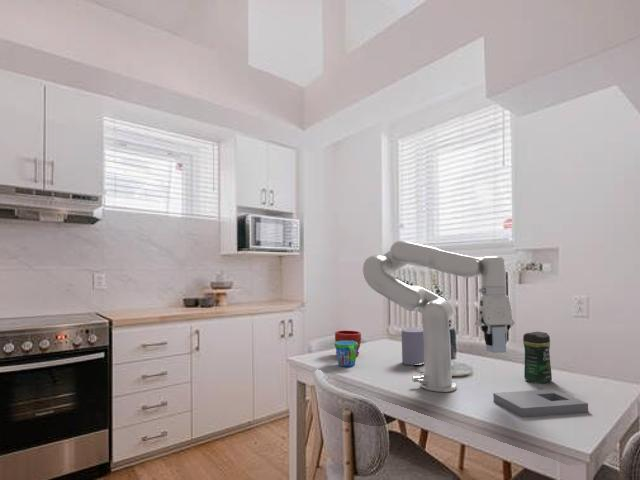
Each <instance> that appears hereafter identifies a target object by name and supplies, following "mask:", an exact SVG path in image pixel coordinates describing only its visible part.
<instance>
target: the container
mask: <svg viewBox="0 0 640 480" xmlns="http://www.w3.org/2000/svg"><path fill="white" fill-rule="evenodd" d="M401 358H402V360H401V361H402V364H404V365H405V366H410V367H415V366H414V365H415V364H419V363H423V362H424V337H423V329H421V328H403V329H401Z"/></svg>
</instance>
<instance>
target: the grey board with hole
mask: <svg viewBox="0 0 640 480" xmlns="http://www.w3.org/2000/svg"><path fill="white" fill-rule="evenodd" d="M492 395H493V396H492V397H493V402H494V403H496V404H498V405H500V406H503V408H505V409H507V410H509V411H511V412H513V413H515V414H516V415H518V416H519V417H521V418H526V417H527V418H528V417H541V416H553V415H565V414H567V415H569V414H577V413H578V414H579V413H589V403H588V402H586V401H583V400H581V399H578V398H576V397H574V396H571V395H569V394H566V393H564V392H561V391H559V390H557V389H554V388H549V389H536V390H534V389H533V390H518V391H506V392H493V393H492Z"/></svg>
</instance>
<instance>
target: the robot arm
mask: <svg viewBox="0 0 640 480" xmlns="http://www.w3.org/2000/svg"><path fill="white" fill-rule="evenodd" d="M406 265H410V266H415V267H420V268H422V269H426V270H430V271H437V272H442V273H445V274H450V275H453V276H458V277H463V278H468V279H469V278H475V277H481V288H479V289H478V291H479V293H481V295H480V298H479V303H478V305H479V306H478V318H477V320H476V321H475V323H474V324H475V326H477V327H478V328H479V329H480V330H481V331H482V332H483V333H484V342H485V345H486V344H487V345H490V346H492V334H491V325H505V336H506V337H507V334H508V332H509V330H510V329H511V328H512V327H513V326H514V325H515V321H514V319H513V314H512V307H511V302H510V297H509V295H507V294H506V293H507V292H506V271H505V269H506V268H505V260H504V258H503V257H502V256H484V257H476V256H472V255H471V256H470V255H465V254H464V255H463V254H460V253H456V252H451V251H446V250H443V249H439V248H437V247H433V246H430V245H429V246H428V245H423V244H421V243H420V244H419V243H416V242H415V243H414V242H410V241H406V240H398V241H395V242H394V243H393V244H392V245H391V247H390V250H389V251H388V252H386V253H384V254H382V255H378V254H377V255H376V254H375V255H371V256H369V257H367V258H366V259H365V260H364V262H363V266H362V272H363V273H362V274H363V277H364V280H365V282H366V284H367V285H368V286H369V287H370V288H371V289H372V290H374V291H375V292H376V293H378V294H379V295H381V296H382V297H384V298H386V299H388V300H389V301H391V302H393V303H394V304H396V305H398V306H399V307H401V308H403V309H404V310H407V311H409V312H413V311H417V312H419V313H421V324H422V330H423V337H424V372H422V373H421V375H420V376H416V375H415V376H412V377H411V381H412V382H413V383H418V384H420V387H422V389H425V390H427V391H430V392H431V391H432V392H439V393H449V392H454V391H456V390H457V387H458V386H457V384H456V383H455V382H453V378H452V377H453V376H452V373H453V371H452V351H451V350H452V349H451V330H450V320H451V319H452V317H453V316H454V308H453V305H452V304H451V303H450V302H449V301H448V300H447V299H445V298H443V297H441V296H439V295H437V294H435V293H434V292H432V291H430V290H428V289H426V288H424V287H422V286H419V285H409V284H407V283H404V282H402V281H401V280H400V279H397V278H396V277H394V276H391V275H390V274H392V273H394V272H396V271H398V270H400V268H403V267H404V266H406ZM506 342H507V339H506Z"/></svg>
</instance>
